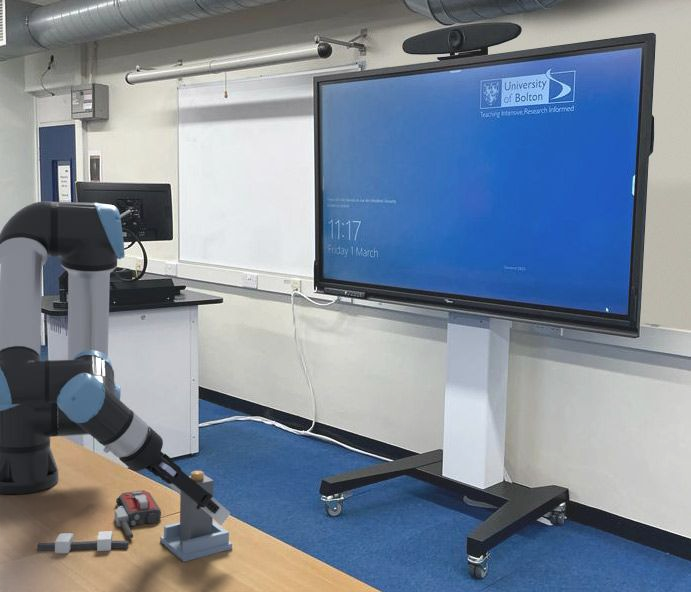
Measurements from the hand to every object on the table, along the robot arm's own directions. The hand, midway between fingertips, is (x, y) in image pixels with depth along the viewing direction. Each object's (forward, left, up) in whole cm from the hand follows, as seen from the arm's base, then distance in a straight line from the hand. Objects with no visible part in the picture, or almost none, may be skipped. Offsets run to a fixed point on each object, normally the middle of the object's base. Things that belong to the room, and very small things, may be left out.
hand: (208, 506), depth 146 cm
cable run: (-10, -20, -7) cm, 24 cm away
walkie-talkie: (-17, -7, -8) cm, 20 cm away
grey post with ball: (0, -2, -6) cm, 7 cm away
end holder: (0, -2, -7) cm, 7 cm away
